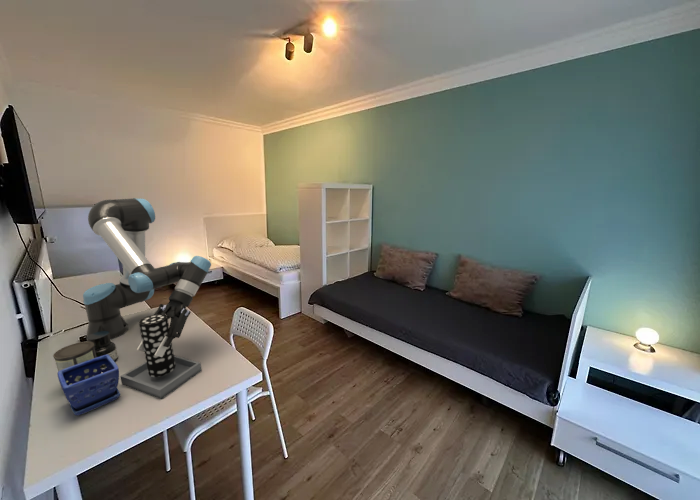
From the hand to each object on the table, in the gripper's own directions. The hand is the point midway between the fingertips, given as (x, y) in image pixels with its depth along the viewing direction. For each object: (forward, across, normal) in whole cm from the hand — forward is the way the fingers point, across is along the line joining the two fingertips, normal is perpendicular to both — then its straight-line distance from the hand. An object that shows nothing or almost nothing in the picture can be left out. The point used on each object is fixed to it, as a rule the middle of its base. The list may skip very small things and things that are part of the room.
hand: (149, 353), depth 100 cm
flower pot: (+18, +10, +1) cm, 20 cm away
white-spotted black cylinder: (+4, 0, -9) cm, 10 cm away
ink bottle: (+8, +31, -9) cm, 33 cm away
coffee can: (+15, +23, -2) cm, 28 cm away
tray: (+6, 0, -11) cm, 12 cm away
